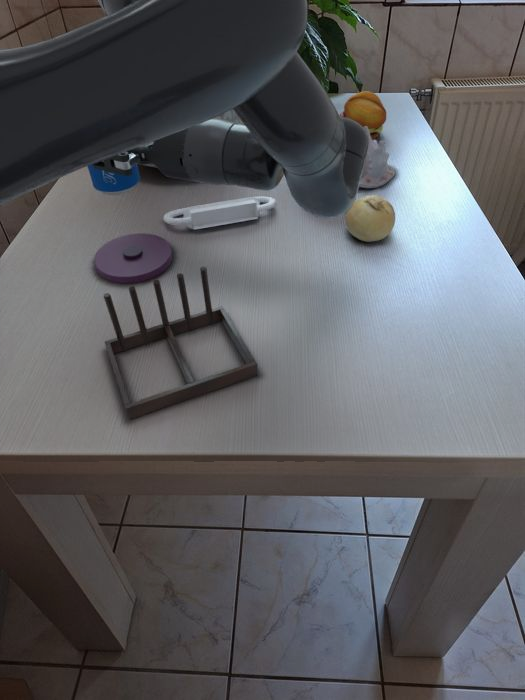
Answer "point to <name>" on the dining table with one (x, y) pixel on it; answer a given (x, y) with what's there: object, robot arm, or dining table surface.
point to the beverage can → (113, 181)
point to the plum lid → (133, 258)
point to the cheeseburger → (366, 111)
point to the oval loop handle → (220, 212)
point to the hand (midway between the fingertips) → (90, 134)
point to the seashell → (375, 165)
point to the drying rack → (176, 347)
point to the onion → (370, 218)
